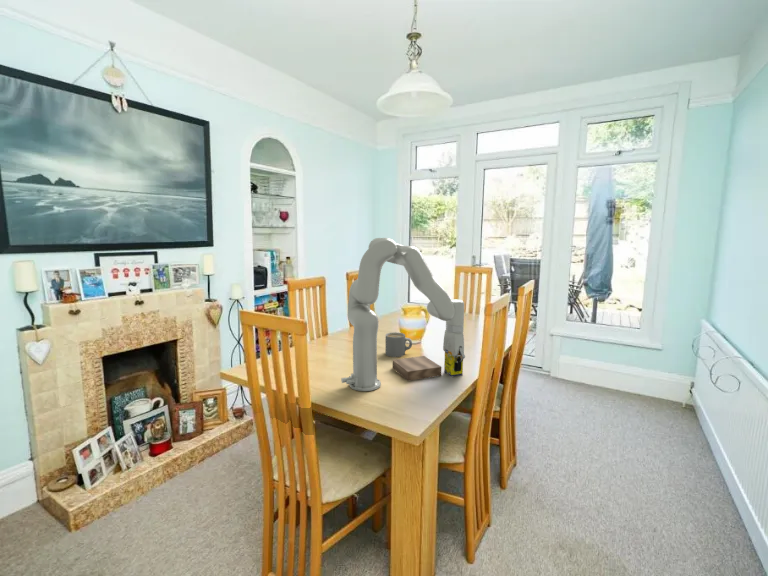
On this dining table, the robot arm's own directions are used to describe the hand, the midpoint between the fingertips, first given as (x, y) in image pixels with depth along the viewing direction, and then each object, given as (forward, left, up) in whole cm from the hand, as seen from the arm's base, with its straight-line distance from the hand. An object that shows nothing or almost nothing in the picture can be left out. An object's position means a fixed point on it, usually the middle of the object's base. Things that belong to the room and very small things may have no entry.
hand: (453, 368), depth 166 cm
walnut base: (-14, +8, -3) cm, 16 cm away
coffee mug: (-11, +34, -3) cm, 36 cm away
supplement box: (0, 0, -3) cm, 3 cm away
